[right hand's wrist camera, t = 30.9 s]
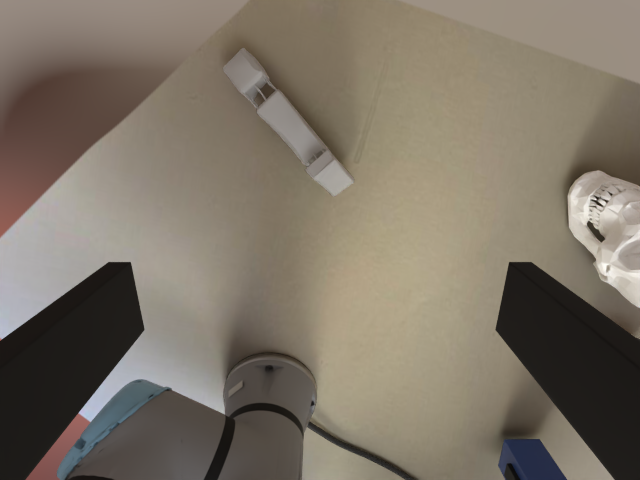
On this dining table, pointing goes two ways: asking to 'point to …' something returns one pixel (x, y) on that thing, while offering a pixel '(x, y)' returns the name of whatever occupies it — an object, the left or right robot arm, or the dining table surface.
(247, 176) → the dining table surface
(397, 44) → the dining table surface
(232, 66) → the grey jointed segment piece
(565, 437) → the dining table surface
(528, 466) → the block
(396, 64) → the dining table surface
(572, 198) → the skull
